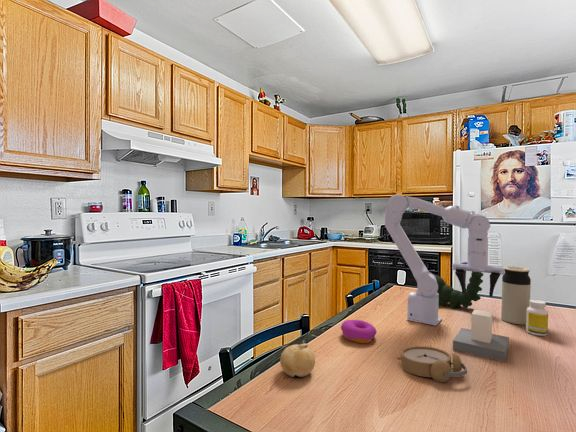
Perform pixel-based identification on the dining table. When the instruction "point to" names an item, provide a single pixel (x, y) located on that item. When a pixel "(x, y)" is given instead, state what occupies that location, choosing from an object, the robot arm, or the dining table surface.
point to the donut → (358, 331)
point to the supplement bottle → (537, 318)
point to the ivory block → (481, 326)
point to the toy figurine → (458, 297)
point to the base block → (482, 345)
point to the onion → (297, 360)
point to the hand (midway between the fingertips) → (477, 294)
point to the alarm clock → (431, 363)
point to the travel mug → (515, 294)
